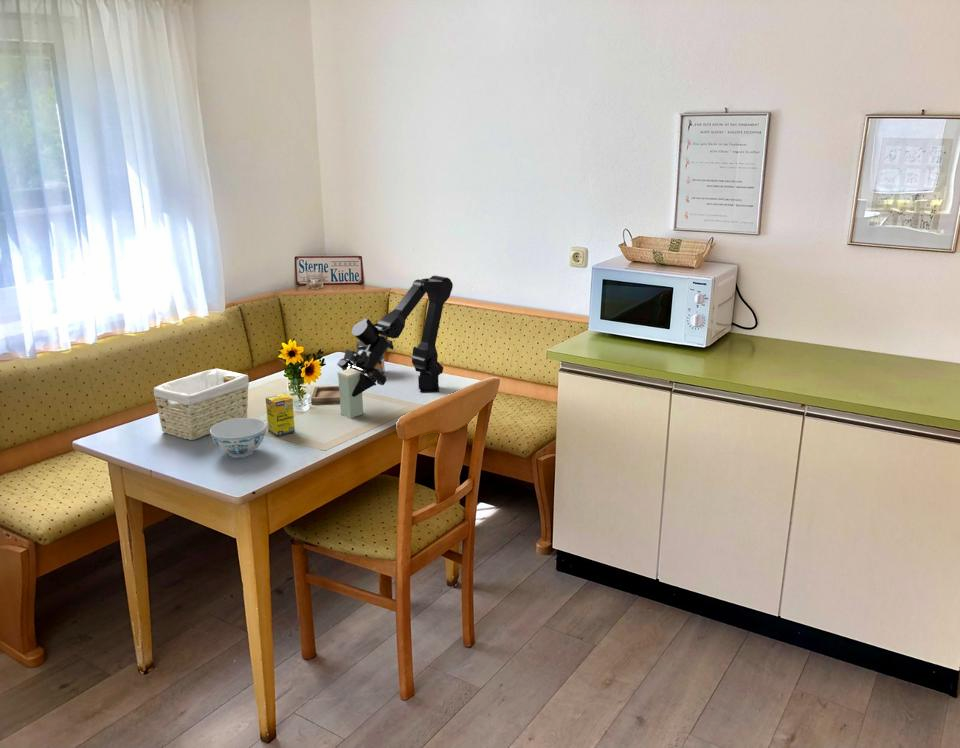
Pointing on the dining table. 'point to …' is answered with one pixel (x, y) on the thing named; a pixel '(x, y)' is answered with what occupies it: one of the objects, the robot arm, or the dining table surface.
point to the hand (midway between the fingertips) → (347, 394)
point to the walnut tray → (325, 395)
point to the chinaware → (238, 435)
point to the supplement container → (380, 366)
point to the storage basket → (201, 402)
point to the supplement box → (280, 414)
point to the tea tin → (350, 393)
